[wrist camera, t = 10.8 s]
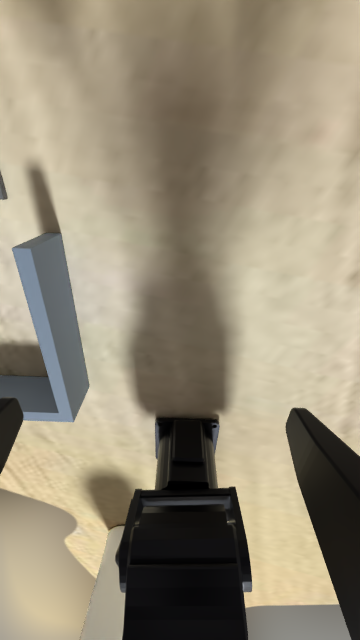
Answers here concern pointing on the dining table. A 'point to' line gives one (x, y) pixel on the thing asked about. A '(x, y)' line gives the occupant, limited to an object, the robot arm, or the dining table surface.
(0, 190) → the charcoal mat
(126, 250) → the dining table surface
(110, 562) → the drinking glass
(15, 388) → the open-front box
